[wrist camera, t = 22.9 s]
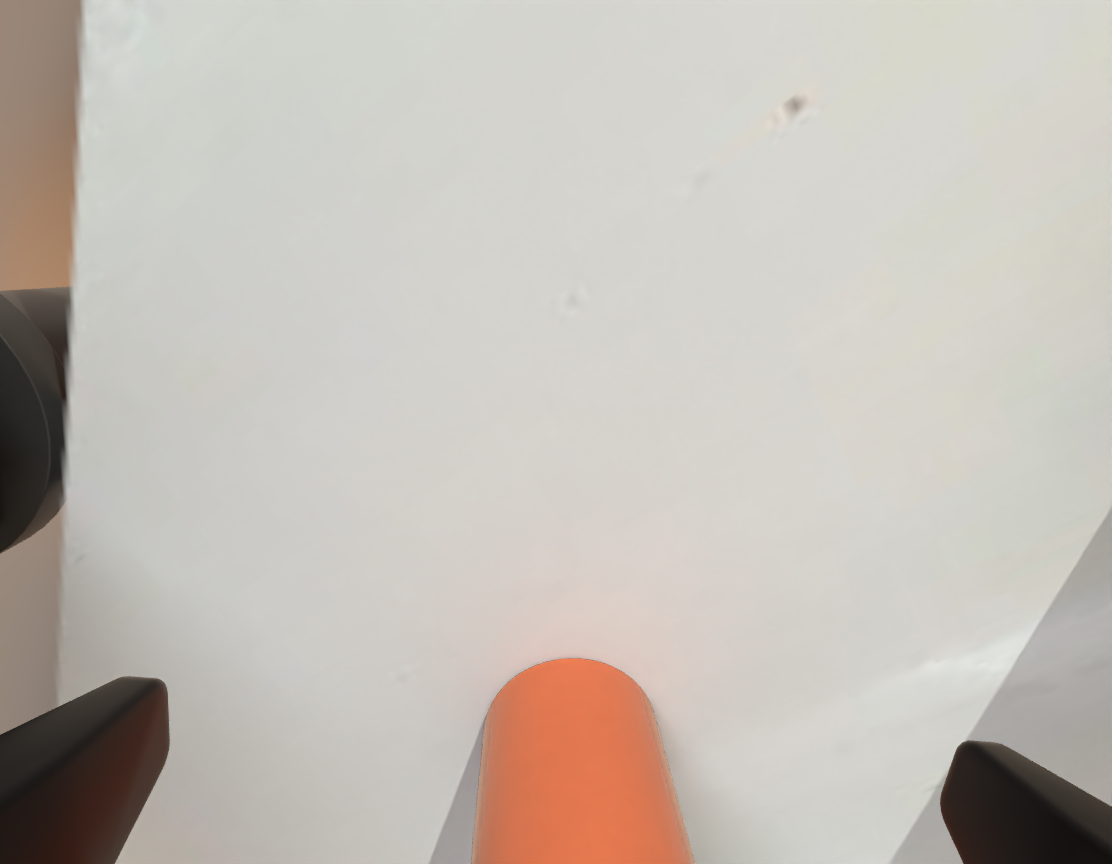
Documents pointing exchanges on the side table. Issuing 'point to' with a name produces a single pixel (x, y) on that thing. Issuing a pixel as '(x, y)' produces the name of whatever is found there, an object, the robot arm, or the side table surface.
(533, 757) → the jar
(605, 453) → the side table surface
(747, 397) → the side table surface
